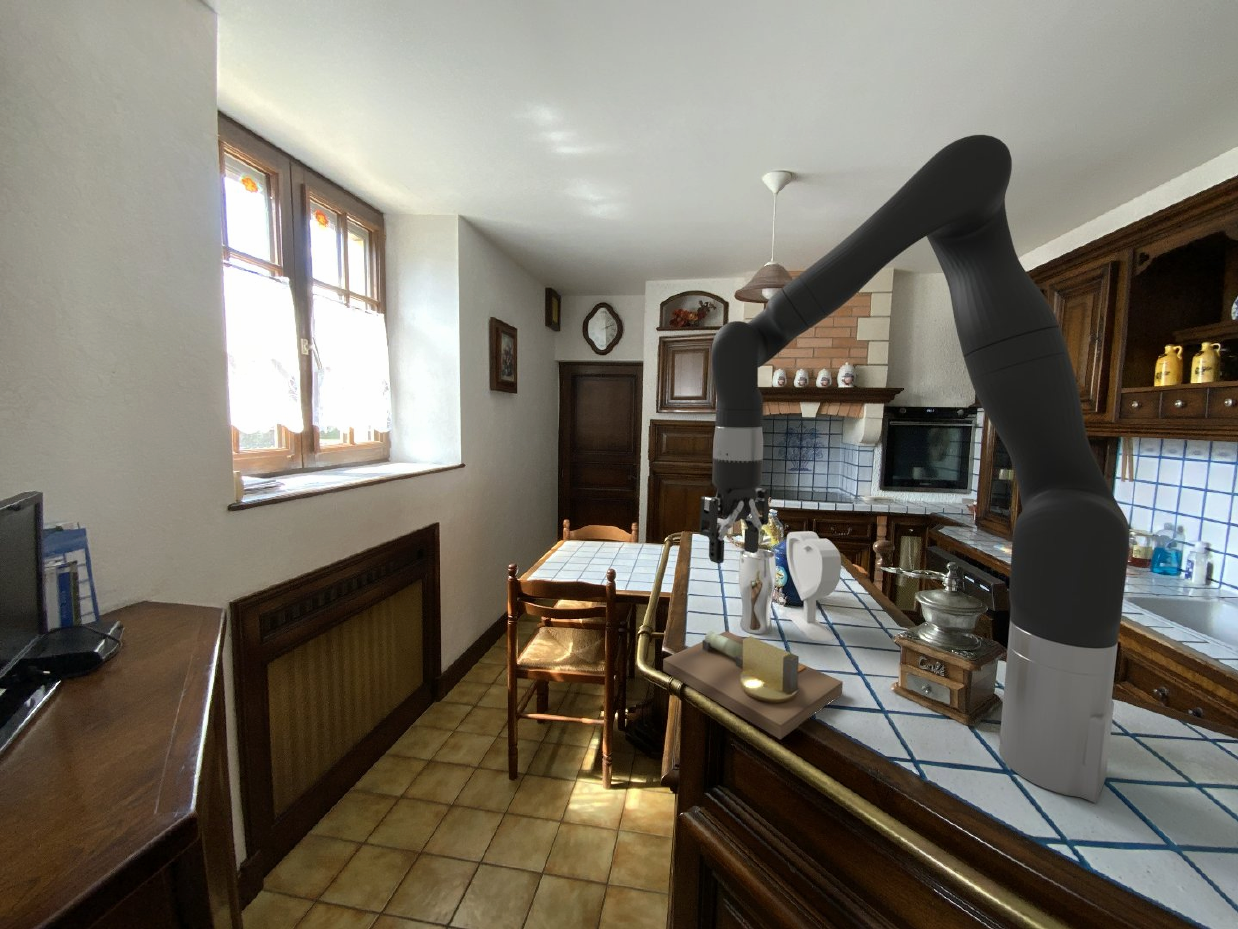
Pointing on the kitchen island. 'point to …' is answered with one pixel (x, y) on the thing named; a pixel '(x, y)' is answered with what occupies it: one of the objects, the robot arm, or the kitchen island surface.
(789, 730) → the knob and handle board
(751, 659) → the wing knob
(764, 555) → the beer glass
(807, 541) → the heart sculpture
